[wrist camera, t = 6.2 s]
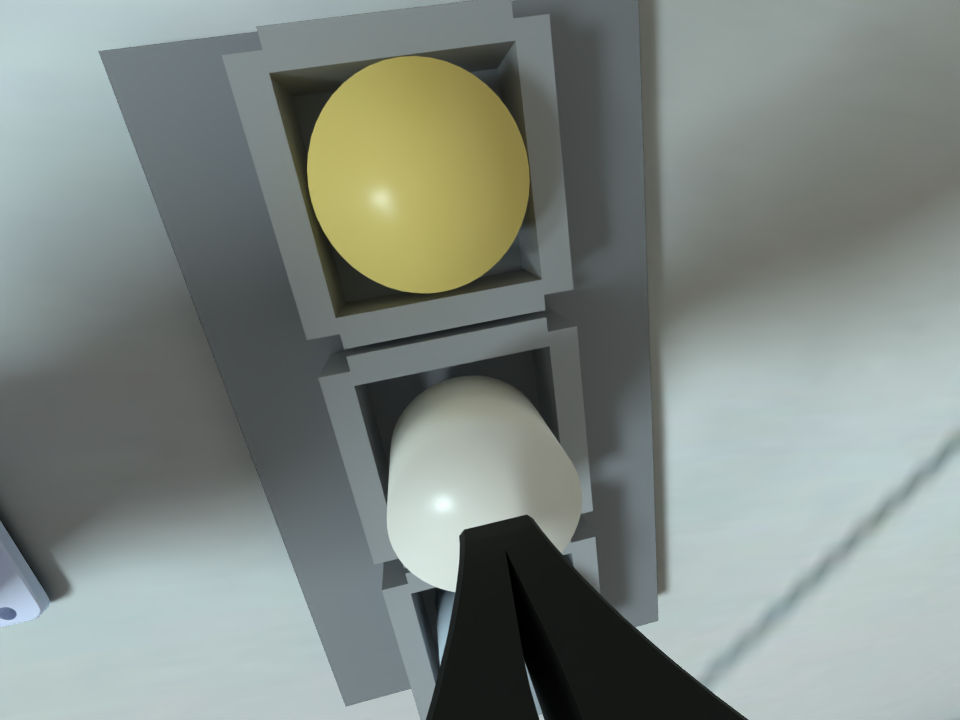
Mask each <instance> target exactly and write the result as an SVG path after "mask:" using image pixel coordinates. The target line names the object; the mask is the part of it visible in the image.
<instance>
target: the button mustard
mask: <svg viewBox="0 0 960 720" xmlns="http://www.w3.org/2000/svg"><path fill="white" fill-rule="evenodd" d="M307 175H308V187H309V192H310V197H311V202H312V205H313V208H314V211H315V214H316V217H317V219H318V221H319V223H320V225H321V227H322V229H323V231H324V233H325V235H326V236H327V238H328V239H329V241H330V242H331V244H332V245H333V247H334V248H335V249H336V250H337V251H338V253H339V254H340V255H341V256H342V257H343V258H344V259H345V260H346V261H347V262H348V263H349V264H350V265H351V266H352V267H354V268H355V269H356V270H358V271H359V272H360V273H362V274H363V275H365V276H366V277H368V278H370V279H372V280H373V281H375V282H377V283H379V284H382V285H384V286H387V287H389V288H393V289H396V290H400V291H404V292H411V293H437V292H444V291H448V290H452V289H456V288H458V287H461V286H463V285H466V284H468V283H470V282H472V281H474V280H475V279H477V278H479V277H480V276H482V275H483V274H484V273H486V272H487V271H489V270H490V269H491V268H492V267H493V266H494V265H495V264H496V263H497V262H498V261H499V260H500V259H501V258H502V257H503V255H504V254H505V253H506V252H507V250H508V249H509V248H510V246H511V244H512V243H513V241H514V240H515V238H516V236H517V234H518V231H519V229H520V227H521V225H522V222H523V219H524V216H525V212H526V208H527V203H528V198H529V184H530V179H529V164H528V159H527V153H526V149H525V146H524V142H523V139H522V136H521V134H520V131H519V129H518V127H517V124H516V122H515V120H514V119H513V117H512V115H511V114H510V112H509V110H508V109H507V107H506V106H505V105H504V103H503V102H502V101H501V99H500V98H499V97H498V96H497V95H496V94H495V93H494V92H493V91H492V90H491V89H490V88H489V87H488V86H487V85H486V84H485V83H484V82H482V81H481V80H480V79H478V78H477V77H476V76H475V75H473V74H471V73H470V72H468V71H466V70H464V69H463V68H461V67H459V66H456V65H454V64H451V63H449V62H446V61H443V60H439V59H435V58H431V57H420V56H405V57H396V58H391V59H387V60H383V61H380V62H377V63H375V64H372V65H370V66H368V67H366V68H364V69H362V70H361V71H359V72H357V73H355V74H354V75H353V76H352V77H350V78H349V79H348V80H347V81H345V82H344V83H343V84H342V85H341V86H340V87H339V88H338V89H337V90H336V91H335V92H334V94H333V95H332V96H331V97H330V99H329V100H328V102H327V103H326V105H325V106H324V108H323V109H322V111H321V113H320V115H319V118H318V120H317V122H316V124H315V127H314V130H313V133H312V136H311V140H310V146H309V151H308V162H307Z"/></svg>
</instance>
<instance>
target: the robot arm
mask: <svg viewBox="0 0 960 720" xmlns="http://www.w3.org/2000/svg"><path fill="white" fill-rule="evenodd" d="M459 542H460V552H459V568H458V576H457V584H456V591H455V597H454V603H453V608H452V614H451V619H450V624H449V630H448V635H447V639H446V644H445V648H444V652H443V656H442V660H441V664H440V668H439V672H438V676H437V680H436V684H435V688H434V692H433V696H432V700H431V703H430V707H429V710H428V714H427V717H426V720H539V717H538V713H537V710H536V706H535V703H534V699H533V696H532V692H531V688H530V684H529V680H528V675H527V671H526V667H527V670H528V673H529V676H530V679H531V682H532V685H533V688H534V690H535V693H536V696H537V699H538V702H539V705H540V708H541V711H542V714H543V716H544V719H545V720H748V719H747V718H745V717H744V716H743V715H741V714H740V713H739V712H737V711H736V710H735V709H733V708H732V707H731V706H729V705H728V704H727V703H725V702H724V701H723V700H721V699H720V698H719V697H717V696H716V695H715V694H714V693H712V692H711V691H710V690H709V689H707V688H706V687H705V686H704V685H702V684H701V683H700V682H699V681H697V680H696V679H695V678H694V677H692V676H691V675H690V674H689V673H687V672H686V671H685V670H684V669H682V668H681V667H680V666H679V665H678V664H676V663H675V662H674V661H673V660H672V659H670V658H669V657H668V656H667V655H666V654H665V653H663V652H662V651H661V650H660V649H659V648H658V647H657V646H655V645H654V644H653V643H652V642H651V641H650V640H649V639H647V638H646V637H645V636H644V635H643V634H642V633H641V632H640V631H639V630H637V629H636V628H635V627H634V626H633V625H632V624H631V623H630V622H629V621H628V620H626V619H625V618H624V617H623V616H622V615H621V614H620V613H619V612H618V611H617V610H616V609H615V608H614V607H613V606H612V605H611V604H610V603H608V602H607V601H606V600H605V599H604V598H603V597H602V596H601V594H600V593H599V592H598V591H597V590H596V589H595V588H594V587H593V586H592V585H591V584H590V583H589V582H588V581H587V580H586V579H585V578H584V577H583V576H582V575H581V574H580V573H579V572H578V571H577V570H576V569H575V568H574V567H573V566H572V565H571V564H570V562H569V561H568V560H567V559H566V558H565V557H564V556H563V555H562V554H561V552H560V551H559V550H558V549H557V548H556V547H555V546H554V544H553V543H552V542H551V541H550V540H549V538H548V537H547V536H546V535H545V533H544V532H543V531H542V530H541V528H540V527H539V526H538V524H537V523H536V522H535V520H534V519H533V518H532V517H530V516H529V515H523V516H518V517H514V518H510V519H506V520H502V521H498V522H494V523H489V524H485V525H481V526H477V527H473V528H469V529H464V530H463V532H462V533H461V534H460V535H459ZM49 603H50V601H49V598H48V596H47V594H46V593H45V591H44V589H43V588H42V586H41V585H40V583H39V581H38V580H37V578H36V577H35V575H34V574H33V572H32V570H31V569H30V567H29V566H28V564H27V562H26V561H25V559H24V558H23V556H22V554H21V553H20V551H19V550H18V548H17V546H16V545H15V543H14V542H13V540H12V538H11V537H10V535H9V534H8V532H7V531H6V529H5V527H4V526H3V524H2V523H1V521H0V627H5V626H9V625H13V624H17V623H21V622H25V621H30V620H33V619H36V618H38V617H39V616H40V615H41V614H42V613H43V612H44V611H45V610H46V609H47V607H48V606H49ZM525 664H526V666H525Z"/></svg>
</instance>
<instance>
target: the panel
mask: <svg viewBox="0 0 960 720" xmlns="http://www.w3.org/2000/svg"><path fill="white" fill-rule="evenodd" d="M257 31H258V32H251V33H243V34H235V35H227V36H219V37H211V38H202V39H194V40H186V41H178V42H170V43H161V44H153V45H145V46H137V47H129V48H120V49H112V50H104V51H99V54H100V56H101V59H102V62H103V64H104V67H105V70H106V72H107V75H108V78H109V80H110V83H111V86H112V88H113V91H114V94H115V96H116V99H117V102H118V104H119V107H120V109H121V112H122V115H123V117H124V120H125V123H126V125H127V128H128V131H129V133H130V136H131V139H132V141H133V144H134V147H135V149H136V152H137V155H138V157H139V160H140V162H141V165H142V168H143V170H144V173H145V176H146V178H147V181H148V184H149V186H150V189H151V192H152V194H153V197H154V200H155V202H156V205H157V208H158V210H159V213H160V215H161V218H162V221H163V223H164V226H165V229H166V231H167V234H168V237H169V239H170V242H171V245H172V247H173V250H174V253H175V255H176V258H177V261H178V263H179V266H180V268H181V271H182V274H183V276H184V279H185V282H186V284H187V287H188V290H189V292H190V295H191V298H192V300H193V303H194V306H195V308H196V311H197V314H198V316H199V319H200V321H201V324H202V327H203V329H204V332H205V335H206V337H207V340H208V343H209V345H210V348H211V351H212V353H213V356H214V359H215V361H216V364H217V367H218V369H219V372H220V374H221V377H222V380H223V382H224V385H225V388H226V390H227V393H228V396H229V398H230V401H231V404H232V406H233V409H234V412H235V414H236V417H237V420H238V422H239V425H240V427H241V430H242V433H243V435H244V438H245V441H246V443H247V446H248V449H249V451H250V454H251V457H252V459H253V462H254V465H255V467H256V470H257V473H258V475H259V478H260V480H261V483H262V486H263V488H264V491H265V494H266V496H267V499H268V502H269V504H270V507H271V510H272V512H273V515H274V518H275V520H276V523H277V526H278V528H279V531H280V533H281V536H282V539H283V541H284V544H285V547H286V549H287V552H288V555H289V557H290V560H291V563H292V565H293V568H294V571H295V573H296V576H297V579H298V581H299V584H300V586H301V589H302V592H303V594H304V597H305V600H306V602H307V605H308V608H309V610H310V613H311V616H312V618H313V621H314V624H315V626H316V629H317V632H318V634H319V637H320V639H321V642H322V645H323V647H324V650H325V653H326V655H327V658H328V661H329V663H330V666H331V669H332V671H333V674H334V677H335V679H336V682H337V685H338V687H339V690H340V692H341V695H342V698H343V700H344V703H345V706H349V705H353V704H357V703H360V702H364V701H368V700H371V699H375V698H379V697H382V696H386V695H390V694H393V693H397V692H400V691H404V690H408V689H412V693H413V696H414V699H415V703H416V706H417V709H418V713H419V716H420V719H421V720H426V717H427V714H428V710H429V707H430V703H431V700H432V696H433V692H434V688H435V684H436V680H437V676H438V672H439V668H440V660H439V648H438V635H437V622H436V610H435V595H436V590H437V587H435V586H432V585H430V584H428V583H426V582H424V581H422V580H421V579H419V578H418V577H417V576H415V575H414V574H412V573H411V572H410V571H409V570H408V569H407V568H406V567H405V566H404V565H403V563H402V562H401V561H400V560H399V558H398V557H397V555H396V553H395V551H394V550H393V547H392V545H391V542H390V539H389V535H388V530H387V500H388V483H389V465H390V448H391V439H392V435H393V431H394V428H395V425H396V423H397V421H398V419H399V417H400V416H401V414H402V412H403V411H404V409H405V408H406V407H407V406H408V404H409V403H410V402H411V401H412V400H413V399H414V398H415V397H416V396H418V395H419V394H420V393H422V392H423V391H424V390H426V389H427V388H429V387H431V386H433V385H435V384H437V383H439V382H442V381H444V380H447V379H451V378H454V377H460V376H471V375H478V376H487V377H492V378H496V379H499V380H502V381H504V382H507V383H508V384H510V385H512V386H514V387H516V388H517V389H518V390H520V391H521V392H522V393H523V394H524V395H525V396H526V397H527V398H528V399H529V400H530V401H531V402H532V404H533V405H534V406H535V408H536V409H537V411H538V412H539V414H540V415H541V417H542V418H543V420H544V421H545V423H546V424H547V426H548V427H549V429H550V430H551V432H552V433H553V435H554V436H555V438H556V439H557V441H558V442H559V444H560V445H561V446H562V448H563V449H564V451H565V452H566V454H567V455H568V457H569V458H570V460H571V461H572V463H573V465H574V467H575V469H576V471H577V473H578V476H579V479H580V483H581V488H582V509H581V515H580V519H579V522H578V525H577V528H576V530H575V532H574V535H573V536H572V538H571V540H570V542H569V543H568V545H567V546H566V547H565V549H564V550H563V551H562V553H561V554H562V555H563V556H564V557H565V558H566V559H567V560H568V561H569V562H570V564H571V565H572V566H573V567H574V568H575V569H576V570H577V571H578V572H579V573H580V574H581V575H582V576H583V577H584V578H585V579H586V580H587V581H588V582H589V583H590V584H591V585H592V586H593V587H594V588H595V589H596V590H597V591H598V592H599V593H600V594H601V596H602V597H603V598H604V599H605V600H606V601H607V602H608V603H610V604H611V605H612V606H613V607H614V608H615V609H616V610H617V611H618V612H619V613H620V614H621V615H622V616H623V617H624V618H625V619H626V620H628V621H629V622H630V623H631V624H632V625H633V626H634V627H637V626H641V625H644V624H648V623H652V622H655V621H658V596H657V565H656V533H655V502H654V471H653V440H652V409H651V378H650V346H649V315H648V284H647V253H646V222H645V190H644V159H643V128H642V97H641V66H640V35H639V3H638V0H513V1H511V0H472V1H464V2H456V3H448V4H439V5H431V6H423V7H414V8H406V9H398V10H390V11H381V12H373V13H365V14H357V15H348V16H340V17H332V18H324V19H315V20H307V21H299V22H290V23H282V24H274V25H266V26H257ZM405 56H420V57H431V58H435V59H439V60H443V61H446V62H449V63H451V64H454V65H456V66H459V67H461V68H463V69H464V70H466V71H468V72H470V73H471V74H473V75H475V76H476V77H477V78H478V79H480V80H481V81H482V82H484V83H485V84H486V85H487V86H488V87H489V88H490V89H491V90H492V91H493V92H494V93H495V94H496V95H497V96H498V97H499V98H500V99H501V101H502V102H503V103H504V105H505V106H506V107H507V109H508V110H509V112H510V114H511V115H512V117H513V119H514V120H515V122H516V124H517V127H518V129H519V131H520V134H521V136H522V139H523V142H524V146H525V149H526V153H527V159H528V164H529V179H530V184H529V198H528V203H527V208H526V212H525V216H524V219H523V222H522V225H521V227H520V229H519V231H518V234H517V236H516V238H515V240H514V241H513V243H512V244H511V246H510V248H509V249H508V250H507V252H506V253H505V254H504V255H503V257H502V258H501V259H500V260H499V261H498V262H497V263H496V264H495V265H494V266H493V267H492V268H491V269H490V270H489V271H487V272H486V273H484V274H483V275H482V276H480V277H479V278H477V279H475V280H474V281H472V282H470V283H468V284H466V285H463V286H461V287H458V288H456V289H452V290H448V291H444V292H437V293H411V292H404V291H400V290H396V289H393V288H389V287H387V286H384V285H382V284H379V283H377V282H375V281H373V280H372V279H370V278H368V277H366V276H365V275H363V274H362V273H360V272H359V271H358V270H356V269H355V268H354V267H352V266H351V265H350V264H349V263H348V262H347V261H346V260H345V259H344V258H343V257H342V256H341V255H340V254H339V253H338V251H337V250H336V249H335V248H334V247H333V245H332V244H331V242H330V241H329V239H328V238H327V236H326V235H325V233H324V231H323V229H322V227H321V225H320V223H319V221H318V219H317V217H316V214H315V211H314V208H313V205H312V202H311V197H310V192H309V187H308V175H307V162H308V151H309V146H310V140H311V136H312V133H313V130H314V127H315V124H316V122H317V120H318V118H319V115H320V113H321V111H322V109H323V108H324V106H325V105H326V103H327V102H328V100H329V99H330V97H331V96H332V95H333V94H334V92H335V91H336V90H337V89H338V88H339V87H340V86H341V85H342V84H343V83H344V82H345V81H347V80H348V79H349V78H350V77H352V76H353V75H354V74H355V73H357V72H359V71H361V70H362V69H364V68H366V67H368V66H370V65H372V64H375V63H377V62H380V61H383V60H387V59H391V58H396V57H405Z"/></svg>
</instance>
